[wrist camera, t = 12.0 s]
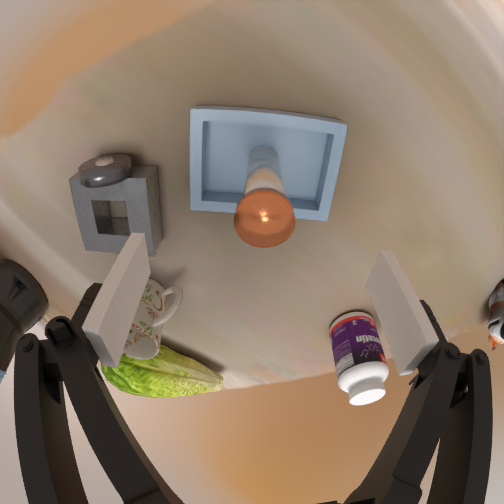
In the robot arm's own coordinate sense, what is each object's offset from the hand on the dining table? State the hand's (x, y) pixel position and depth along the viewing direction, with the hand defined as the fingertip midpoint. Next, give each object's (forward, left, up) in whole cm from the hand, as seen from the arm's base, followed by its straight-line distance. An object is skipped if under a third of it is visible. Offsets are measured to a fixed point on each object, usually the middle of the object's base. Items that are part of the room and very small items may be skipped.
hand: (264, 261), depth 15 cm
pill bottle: (+18, -26, -18) cm, 37 cm away
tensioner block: (-17, -6, -18) cm, 25 cm away
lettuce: (-15, -39, -18) cm, 46 cm away
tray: (0, 0, -18) cm, 18 cm away
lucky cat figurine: (+56, -19, -18) cm, 62 cm away
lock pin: (0, 0, -17) cm, 17 cm away
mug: (-14, -20, -18) cm, 30 cm away
